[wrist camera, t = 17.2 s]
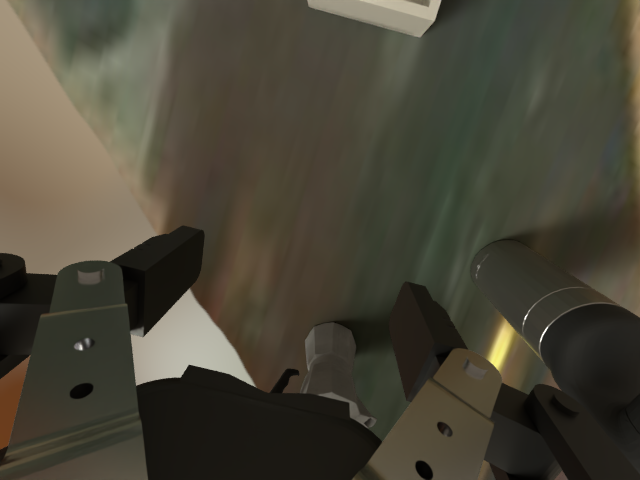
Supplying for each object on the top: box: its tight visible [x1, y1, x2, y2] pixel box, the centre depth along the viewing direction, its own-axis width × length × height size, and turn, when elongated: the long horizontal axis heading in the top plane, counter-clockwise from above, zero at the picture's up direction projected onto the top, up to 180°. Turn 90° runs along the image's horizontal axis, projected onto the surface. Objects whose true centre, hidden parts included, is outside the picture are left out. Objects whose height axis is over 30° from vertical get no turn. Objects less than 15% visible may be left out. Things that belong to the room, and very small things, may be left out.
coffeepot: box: [270, 322, 377, 428], centre depth 45 cm, size 15×9×18 cm, turn 85°
